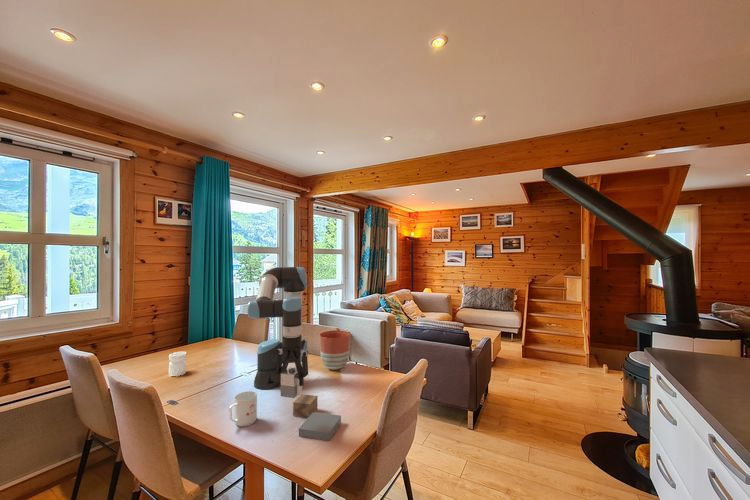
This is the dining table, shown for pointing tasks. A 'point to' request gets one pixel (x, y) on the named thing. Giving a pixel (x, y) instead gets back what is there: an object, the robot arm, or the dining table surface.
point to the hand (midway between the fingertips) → (291, 392)
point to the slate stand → (320, 426)
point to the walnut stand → (304, 405)
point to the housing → (289, 383)
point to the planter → (335, 348)
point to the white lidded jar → (177, 364)
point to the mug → (244, 408)
